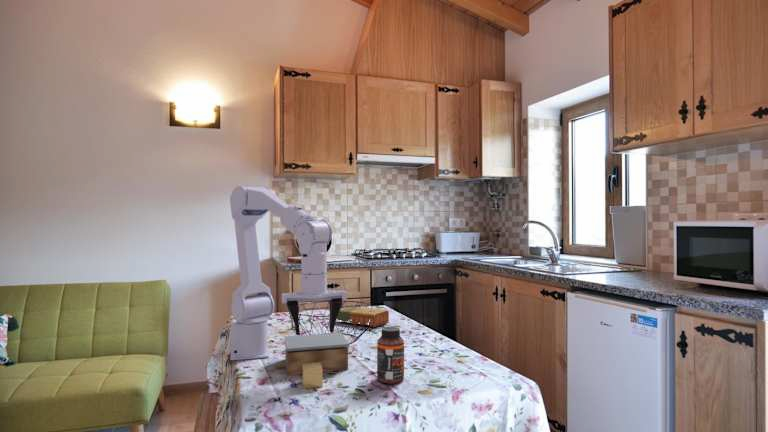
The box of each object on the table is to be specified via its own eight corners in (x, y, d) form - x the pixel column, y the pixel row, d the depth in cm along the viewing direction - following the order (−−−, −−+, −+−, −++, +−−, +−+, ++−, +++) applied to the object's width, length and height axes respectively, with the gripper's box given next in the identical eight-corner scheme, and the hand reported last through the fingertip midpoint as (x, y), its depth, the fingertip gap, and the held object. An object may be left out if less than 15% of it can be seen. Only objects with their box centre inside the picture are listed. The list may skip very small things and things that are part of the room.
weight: (303, 389, 95) (303, 370, 95) (302, 381, 99) (302, 363, 99) (322, 387, 96) (322, 368, 96) (320, 380, 100) (320, 362, 100)
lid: (286, 351, 103) (286, 348, 103) (284, 338, 115) (284, 336, 115) (348, 346, 106) (348, 344, 106) (340, 334, 118) (340, 332, 118)
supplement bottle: (395, 386, 96) (395, 333, 96) (372, 381, 99) (371, 329, 99) (409, 378, 101) (408, 327, 101) (386, 373, 104) (386, 324, 104)
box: (287, 375, 103) (287, 353, 103) (285, 358, 115) (285, 339, 115) (348, 369, 106) (347, 348, 106) (340, 354, 118) (340, 335, 118)
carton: (374, 327, 144) (374, 314, 144) (335, 322, 153) (335, 309, 153) (389, 322, 151) (388, 309, 151) (351, 317, 160) (350, 305, 160)
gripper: (282, 276, 98) (282, 339, 97) (348, 274, 101) (349, 334, 101) (281, 273, 104) (281, 331, 104) (343, 270, 108) (343, 327, 108)
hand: (314, 332), depth 103 cm, fingers open, 7 cm apart
